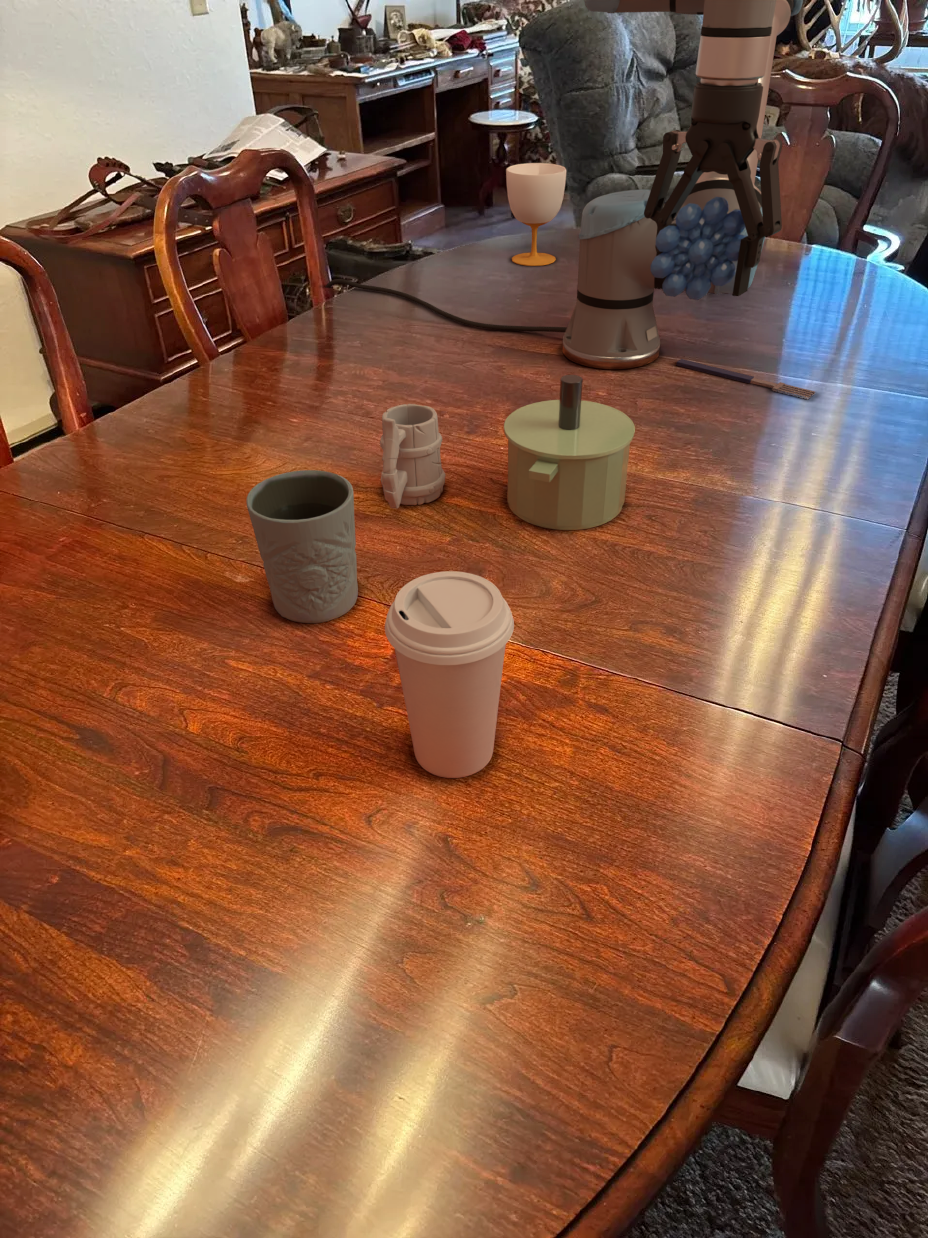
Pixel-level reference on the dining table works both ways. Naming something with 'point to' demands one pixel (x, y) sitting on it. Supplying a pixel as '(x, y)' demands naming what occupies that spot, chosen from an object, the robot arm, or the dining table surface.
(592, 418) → the pot lid
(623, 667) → the dining table surface
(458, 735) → the coffee cup
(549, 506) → the pot
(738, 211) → the grapes
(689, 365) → the spatula
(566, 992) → the dining table surface
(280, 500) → the embossed gray tumbler
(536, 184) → the cup
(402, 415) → the mug
